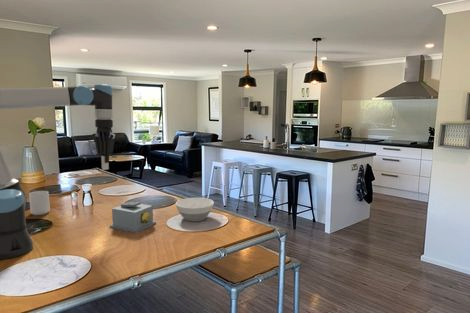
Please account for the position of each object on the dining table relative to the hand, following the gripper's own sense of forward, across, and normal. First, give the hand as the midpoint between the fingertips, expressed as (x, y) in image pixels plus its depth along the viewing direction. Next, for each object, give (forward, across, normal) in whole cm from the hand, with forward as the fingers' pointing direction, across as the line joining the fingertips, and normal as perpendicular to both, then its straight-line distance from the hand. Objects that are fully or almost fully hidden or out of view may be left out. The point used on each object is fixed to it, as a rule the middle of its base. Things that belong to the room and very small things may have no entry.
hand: (105, 169), depth 157 cm
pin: (+24, -11, -5) cm, 27 cm away
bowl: (+26, -32, -28) cm, 50 cm away
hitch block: (+27, -12, -6) cm, 30 cm away
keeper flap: (+17, -10, -5) cm, 21 cm away
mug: (+28, +47, +2) cm, 55 cm away
